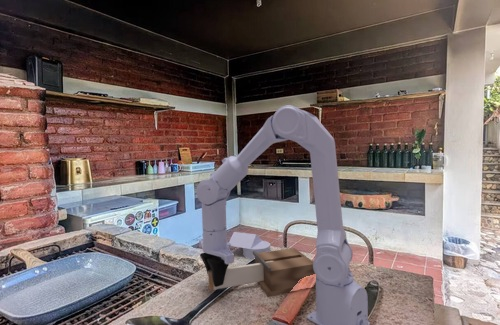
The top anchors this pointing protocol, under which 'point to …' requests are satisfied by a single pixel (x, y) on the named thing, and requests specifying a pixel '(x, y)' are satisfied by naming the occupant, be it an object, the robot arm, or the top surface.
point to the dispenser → (283, 270)
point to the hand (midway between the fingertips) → (216, 283)
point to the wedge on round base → (249, 244)
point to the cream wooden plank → (239, 275)
